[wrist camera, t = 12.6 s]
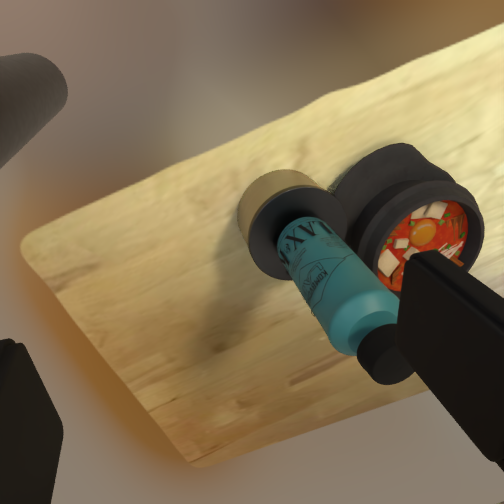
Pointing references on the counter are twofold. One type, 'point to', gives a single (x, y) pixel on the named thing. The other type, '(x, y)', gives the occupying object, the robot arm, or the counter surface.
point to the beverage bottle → (344, 297)
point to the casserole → (407, 213)
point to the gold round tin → (283, 214)
